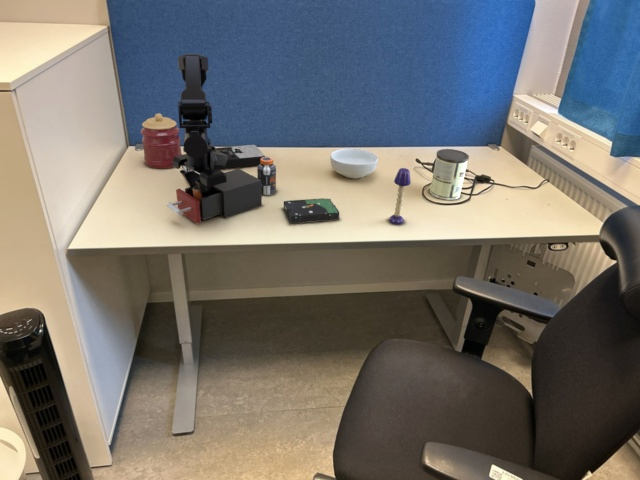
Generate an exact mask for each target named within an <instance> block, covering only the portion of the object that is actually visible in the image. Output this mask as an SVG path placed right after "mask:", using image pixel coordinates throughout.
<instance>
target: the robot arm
mask: <svg viewBox="0 0 640 480" xmlns="http://www.w3.org/2000/svg"><path fill="white" fill-rule="evenodd" d="M177 62H178V71H179V72H180V73H181V77H182V80H183V81H184V83H185V84H184V85H185V89H183V90H182V91H181V92H180V101H178V102H177V108H178V125H179V126H178V128H179V129H184V137H183V138H184V139H183V148H182V150H183V152H184V154H183V153H182V155H179V156H175V157H174V158H173V160H172V162H173V167H172V168H175V169H176V170H179V169H181V170H179V173H180V174H181V175H182V177H183V178H184V180H185V181H186V183H187V184H188V186H189V187H190V188H191V189H192V191H193V186H195V185H197V186H198V189H199V191H200V194H201V196H202V198H204V197H207V196H209V193H210V190H211V187H212V186H215V185H218V184H221V183H225V182H227V175H226V174H225V172H224V171H223V170H218V169H217V168H216V169H214V168H213V167H214V164H215V165H222V166H224V167H225V166H226V162H227V158H228V155H226V154H224V153H222V152H219V151H216V148H217V147H215V146H213V145H212V141H211V138H209V136H208V129H210V128H211V124H213V110H212V105H211V103H210V101H207V95H206V92H205V91H204V90H203V86H204V85H205V82H206V81H207V77H208V76H207V73H209V72H210V71H209V70H210V69H209V57H207V56H205V55H201V54H200V53H184V54H182V55H180V56H178V57H177Z"/></svg>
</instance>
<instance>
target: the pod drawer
mask: <svg viewBox="0 0 640 480" xmlns="http://www.w3.org/2000/svg"><path fill="white" fill-rule="evenodd" d="M175 193H176V201H175V202H167V203H166V207H167V208H168V209H170V210H171V211H173V212H174V213H175V214H177V215H178V216H181V215H184V216H185V217H187V218H188V219H189V220H191V221H192V222H193V223H195V224H198V225H199V224H200V223H202V221H201V220H207V219H210V218H213V217H215V216H218V215H219V214H222V213H223V195H222V193H221V192H220V191H218V190H216V189H215V188H213V187H211V190H210V193H209V196H207V197H204V198H200V201H201V204H199V201H198V200H197V199H195V198H194V197H193V191H192V189H191V188H190V186H189V187H185V188H184V190H183V189H182V188H177V189H175ZM219 216H220V215H219Z"/></svg>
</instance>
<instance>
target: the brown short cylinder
mask: <svg viewBox="0 0 640 480" xmlns="http://www.w3.org/2000/svg"><path fill="white" fill-rule="evenodd" d="M193 197H194V198H195V199H197V200H198V201H199V204H201V201H200V198H202V196H201V194H200V191H199V189H198V186H197V185H195V186H193Z"/></svg>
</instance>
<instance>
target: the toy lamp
mask: <svg viewBox="0 0 640 480" xmlns="http://www.w3.org/2000/svg"><path fill="white" fill-rule="evenodd" d="M393 182H394V184H395V185H397V186H398V190H397V192H398V193H397V197H396V203H395V207H394V213H393V214H392V215H391V216H390V217H389V219H388V221H389V223H390V224H393V225H396V226H397V225H398V226H399V225H402V224H404V218H403V216H402V215H401V211H402V207H403V201H404V196H405V194H404V193H405V187H407V186H410V185H411V172H410V170H409V169H408V168H406V167H401V168H399V169H398V171H397V173H396V175H395V177H394V180H393Z"/></svg>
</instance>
